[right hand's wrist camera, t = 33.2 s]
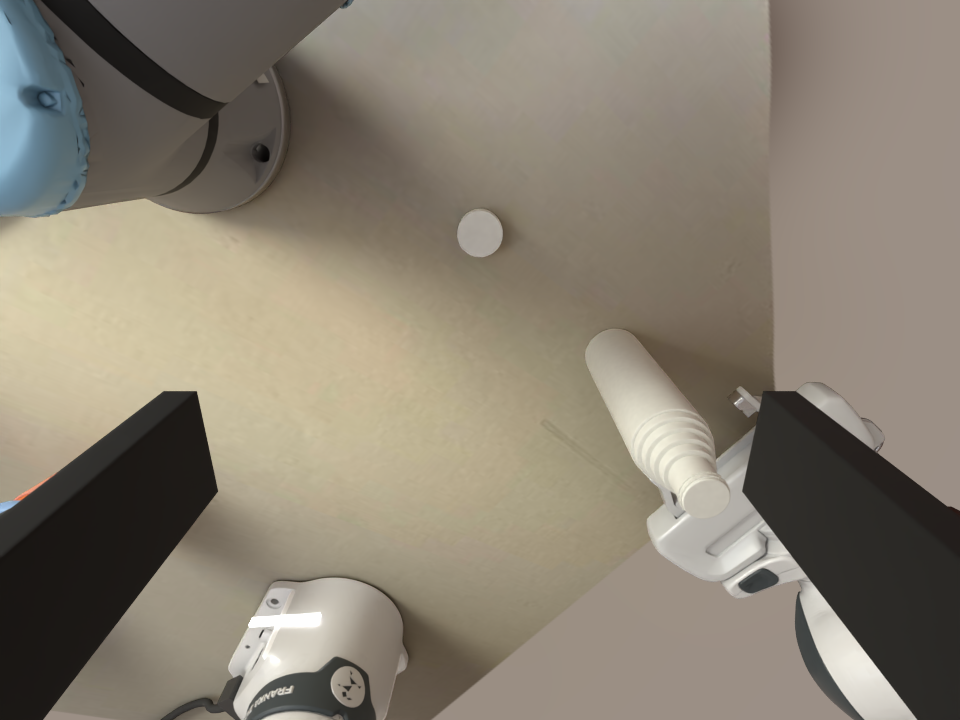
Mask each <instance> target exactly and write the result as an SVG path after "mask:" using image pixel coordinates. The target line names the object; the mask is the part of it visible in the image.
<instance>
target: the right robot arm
mask: <svg viewBox="0 0 960 720" xmlns="http://www.w3.org/2000/svg"><path fill="white" fill-rule="evenodd" d="M352 2H353V0H0V217H8V216H24V217H33V218H36V217H46V216H50V215H55V214H58V213H60V212H61V211H67V210H73V209H80V208H86V207H92V206H99V205H105V204H112V203H118V202H124V201H131V200H137V199H143V198H145V199H148V200H150V201H152V202H154V203H156V204H159V205H161V206H163V207H166V208H169V209H172V210H176V211H180V212H186V213H196V214H205V213H214V212H220V211H224V210H228V209H232V208H236V207H238V206H241V205H243V204H246V203H247V202H249V201H251V200H253V199H254V198H256V197H257V196H259V195H260V194H261V193H262V192H263V191H264V190H265V189H266V188H267V187H268V186H269V185H270V184H271V183H272V181H273V180H274V179H275V177H276V176H277V174H278V172H279V170H280V169H281V166H282V164H283V162H284V159H285V156H286V153H287V149H288V144H289V138H290V111H289V105H288V99H287V96H286V92H285V88H284V85H283V83H282V80H281V77H280V75H279V73H278V71H277V68H276V67H275V65H274V64H275V63H276V62H277V61H278V60H279V59H281V58H282V57H283V56H284V55H285V54H286V53H288V52H289V51H290V50H291V49H292V48H293V47H294V46H296V45H297V44H298V43H299V42H300V41H301V40H302V39H304V38H305V37H306V36H307V35H308V34H309V33H310V32H312V31H313V30H314V29H315V28H316V27H317V26H319V25H320V24H321V23H322V22H323V21H324V20H325V19H327V18H328V17H329V16H330V15H331V14H332V13H333V12H335V11H336V10H337V9H338V8H339V7H340V8H342V9H345V8H347V7H348V6H350V5H351V4H352ZM217 492H218V489H217V484H216V479H215V475H214V470H213V465H212V461H211V456H210V451H209V446H208V442H207V437H206V432H205V428H204V423H203V418H202V413H201V409H200V404H199V399H198V395H197V391H163V392H162V393H161V394H160V395H158V396H157V397H156V398H154V399H153V400H152V401H150V402H149V403H148V404H146V405H145V406H144V407H143V408H141V409H140V410H139V411H137V412H136V413H135V414H133V415H132V416H131V417H129V418H128V419H127V420H126V421H124V422H123V423H122V424H120V425H119V426H118V427H116V428H115V429H114V430H112V431H111V432H110V433H108V434H107V435H106V436H105V437H103V438H102V439H101V440H99V441H98V442H97V443H95V444H94V445H93V446H91V447H90V448H89V449H88V450H86V451H85V452H84V453H82V454H81V455H80V456H78V457H77V458H76V459H74V460H73V461H72V462H70V463H69V464H68V465H67V466H65V467H64V468H63V469H61V470H60V471H59V472H57V473H56V474H55V475H53V476H52V477H51V478H50V479H48V480H47V481H46V482H44V483H43V484H42V485H40V486H39V487H38V488H36V489H35V490H34V491H33V492H31V493H30V494H29V495H27V496H26V497H25V498H23V499H22V500H21V501H19V502H18V503H17V504H15V505H14V506H13V507H12V508H10V509H8V510H6V511H4V512H2V513H0V720H43V719H44V718H45V716H46V715H47V714H48V712H49V711H50V710H51V709H52V707H53V706H54V705H55V703H56V702H57V701H58V699H59V698H60V697H61V696H62V694H63V693H64V692H65V690H66V689H67V688H68V686H69V685H70V684H71V682H72V681H73V680H74V679H75V677H76V676H77V675H78V673H79V672H80V671H81V669H82V668H83V667H84V666H85V664H86V663H87V662H88V660H89V659H90V658H91V656H92V655H93V654H94V653H95V651H96V650H97V649H98V647H99V646H100V645H101V643H102V642H103V641H104V639H105V638H106V637H107V636H108V634H109V633H110V632H111V630H112V629H113V628H114V626H115V625H116V624H117V623H118V621H119V620H120V619H121V617H122V616H123V615H124V613H125V612H126V611H127V609H128V608H129V607H130V606H131V604H132V603H133V602H134V600H135V599H136V598H137V596H138V595H139V594H140V593H141V591H142V590H143V589H144V587H145V586H146V585H147V583H148V582H149V581H150V579H151V578H152V577H153V576H154V574H155V573H156V572H157V570H158V569H159V568H160V566H161V565H162V564H163V563H164V561H165V560H166V559H167V557H168V556H169V555H170V553H171V552H172V551H173V550H174V548H175V547H176V546H177V544H178V543H179V542H180V540H181V539H182V538H183V536H184V535H185V534H186V533H187V531H188V530H189V529H190V527H191V526H192V525H193V523H194V522H195V521H196V520H197V518H198V517H199V516H200V514H201V513H202V512H203V510H204V509H205V508H206V506H207V505H208V504H209V503H210V501H211V500H212V499H213V497H214V496H215V495H216V493H217ZM742 492H743V493H744V495H745V496H746V497H747V499H748V500H749V501H750V503H751V504H752V505H753V506H754V508H755V509H756V510H757V512H758V513H759V514H760V516H761V517H762V518H763V520H764V521H765V522H766V523H767V525H768V526H769V527H770V529H771V530H772V531H773V533H774V534H775V535H776V536H777V538H778V539H779V540H780V542H781V543H782V544H783V546H784V547H785V548H786V550H787V551H788V552H789V553H790V555H791V556H792V557H793V559H794V560H795V561H796V563H797V564H798V565H799V566H800V568H801V569H802V570H803V572H804V573H805V574H806V576H807V577H808V578H809V579H810V581H811V582H812V583H813V585H814V586H815V587H816V589H817V590H818V591H819V593H820V594H821V595H822V596H823V598H824V599H825V600H826V602H827V603H828V604H829V606H830V607H831V608H832V609H833V611H834V612H835V613H836V615H837V616H838V617H839V619H840V620H841V621H842V623H843V624H844V625H845V626H846V628H847V629H848V630H849V632H850V633H851V634H852V636H853V637H854V638H855V639H856V641H857V642H858V643H859V645H860V646H861V647H862V649H863V650H864V651H865V653H866V654H867V655H868V656H869V658H870V659H871V660H872V662H873V663H874V664H875V666H876V667H877V668H878V669H879V671H880V672H881V673H882V675H883V676H884V677H885V679H886V680H887V681H888V682H889V684H890V685H891V686H892V688H893V689H894V690H895V692H896V693H897V694H898V696H899V697H900V698H901V699H902V701H903V702H904V703H905V705H906V706H907V707H908V709H909V710H910V711H911V712H912V714H913V715H914V716H915V718H916V719H917V720H960V511H959V510H957V509H955V508H953V507H947V506H946V505H944V504H943V503H942V502H941V501H939V500H938V499H937V498H935V497H934V496H933V495H931V494H930V493H929V492H927V491H926V490H925V489H924V488H922V487H921V486H920V485H918V484H917V483H916V482H914V481H913V480H912V479H910V478H909V477H908V476H907V475H905V474H904V473H903V472H901V471H900V470H899V469H897V468H896V467H895V466H893V465H892V464H891V463H890V462H888V461H887V460H886V459H884V458H883V457H882V456H880V455H879V454H878V453H876V452H875V451H874V450H872V449H871V448H870V447H869V446H867V445H866V444H865V443H863V442H862V441H861V440H859V439H858V438H857V437H855V436H854V435H853V434H852V433H850V432H849V431H848V430H846V429H845V428H844V427H842V426H841V425H840V424H838V423H837V422H836V421H834V420H833V419H832V418H831V417H829V416H828V415H827V414H825V413H824V412H823V411H821V410H820V409H819V408H817V407H816V406H815V405H814V404H812V403H811V402H810V401H808V400H807V399H806V398H804V397H803V396H802V395H800V394H799V393H798V392H796V391H763V395H762V399H761V404H760V409H759V413H758V418H757V423H756V428H755V432H754V437H753V442H752V446H751V451H750V456H749V461H748V465H747V470H746V475H745V479H744V484H743V489H742Z"/></svg>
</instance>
